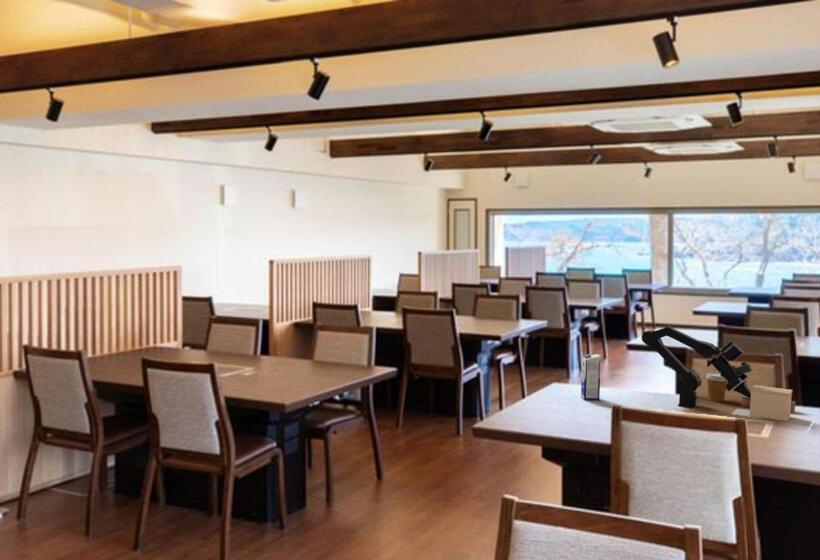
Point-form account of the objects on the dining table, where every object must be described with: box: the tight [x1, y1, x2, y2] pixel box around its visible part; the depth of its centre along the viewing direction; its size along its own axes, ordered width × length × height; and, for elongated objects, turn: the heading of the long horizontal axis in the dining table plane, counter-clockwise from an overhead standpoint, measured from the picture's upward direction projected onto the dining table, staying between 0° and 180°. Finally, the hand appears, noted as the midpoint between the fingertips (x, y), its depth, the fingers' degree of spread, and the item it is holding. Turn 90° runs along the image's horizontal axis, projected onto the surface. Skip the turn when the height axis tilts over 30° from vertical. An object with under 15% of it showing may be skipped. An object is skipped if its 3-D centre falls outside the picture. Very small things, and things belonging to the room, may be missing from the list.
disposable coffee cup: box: [705, 372, 728, 403], centre depth 348 cm, size 10×10×12 cm
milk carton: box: [580, 353, 602, 402], centre depth 346 cm, size 7×7×20 cm
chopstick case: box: [741, 395, 797, 414], centre depth 333 cm, size 20×5×5 cm, turn 57°
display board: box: [731, 408, 764, 420], centre depth 320 cm, size 24×13×1 cm, turn 57°
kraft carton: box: [749, 384, 793, 422], centre depth 318 cm, size 14×9×11 cm, turn 57°
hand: (751, 397), depth 322 cm, fingers closed, pressing on kraft carton
